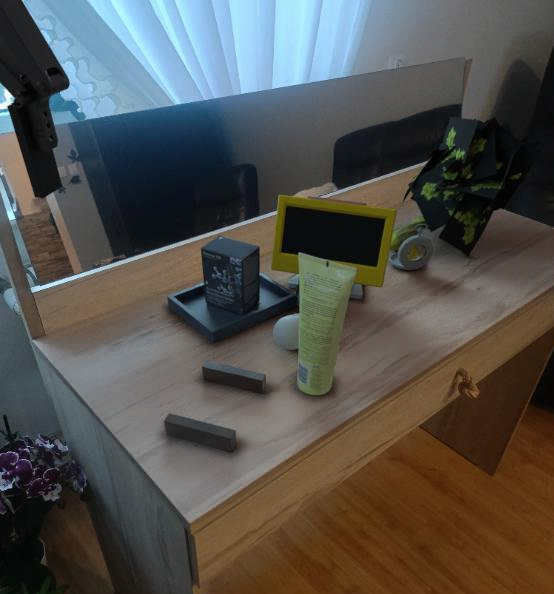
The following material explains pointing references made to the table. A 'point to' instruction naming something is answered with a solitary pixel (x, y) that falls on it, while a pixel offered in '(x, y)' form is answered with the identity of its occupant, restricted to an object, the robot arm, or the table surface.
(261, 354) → the table surface
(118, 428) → the table surface
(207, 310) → the tray
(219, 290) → the box
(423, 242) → the pocket watch
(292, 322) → the figurine
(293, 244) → the toy computer monitor
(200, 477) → the table surface
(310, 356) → the tube
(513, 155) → the potted plant
